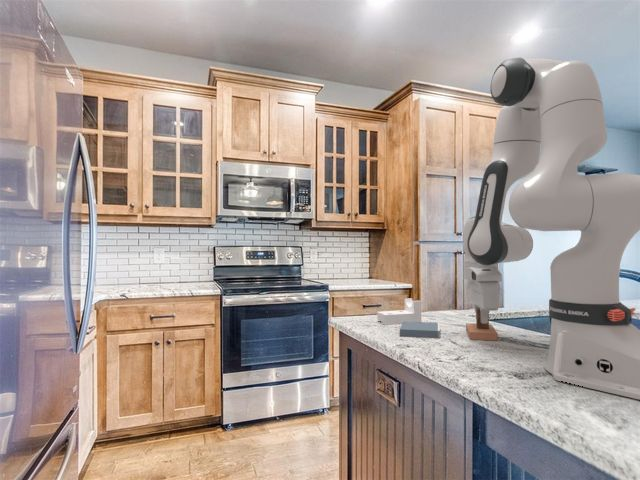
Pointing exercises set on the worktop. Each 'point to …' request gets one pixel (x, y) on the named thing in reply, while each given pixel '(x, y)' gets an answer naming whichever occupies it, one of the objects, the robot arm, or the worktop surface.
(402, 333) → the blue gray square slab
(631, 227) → the robot arm
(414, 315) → the bracket
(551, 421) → the worktop surface
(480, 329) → the stub
